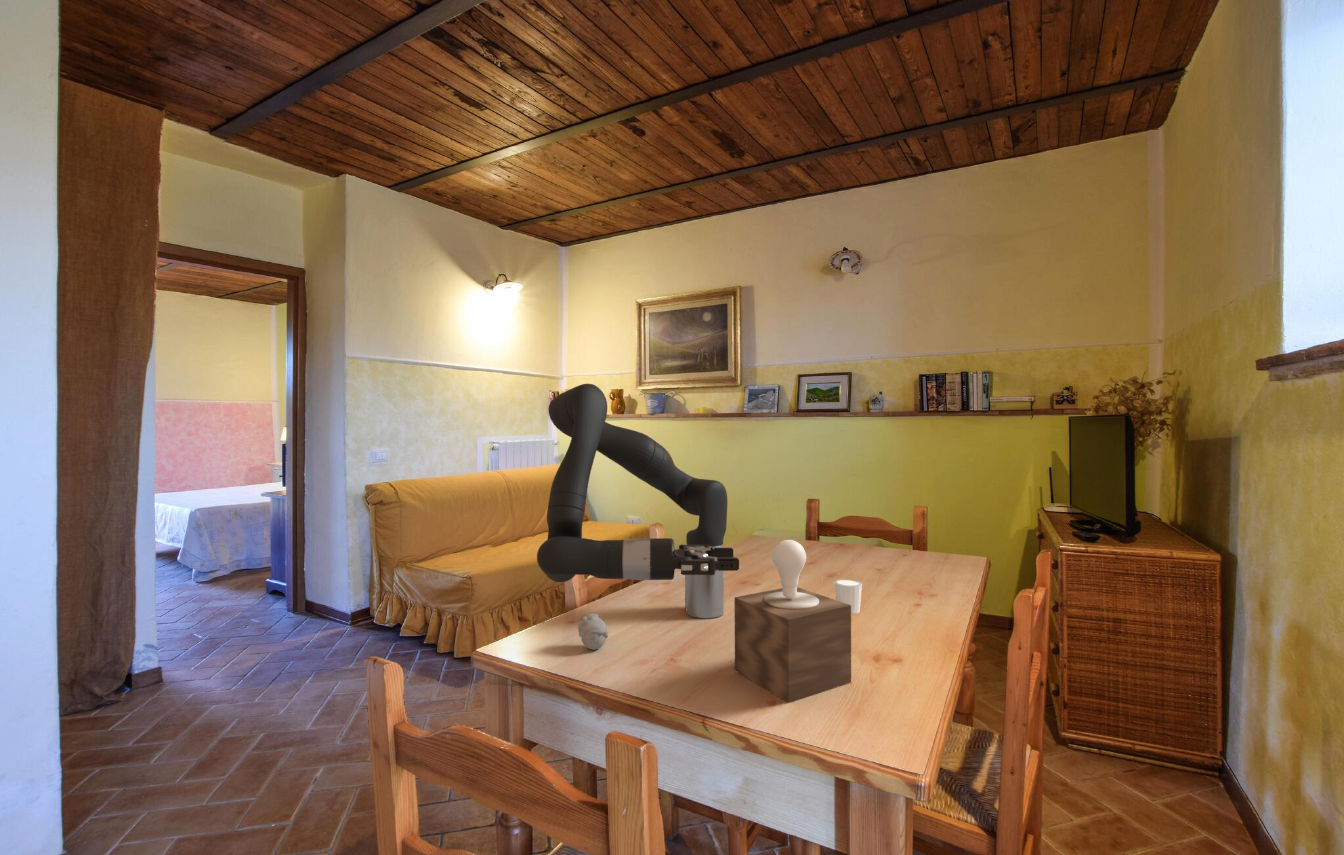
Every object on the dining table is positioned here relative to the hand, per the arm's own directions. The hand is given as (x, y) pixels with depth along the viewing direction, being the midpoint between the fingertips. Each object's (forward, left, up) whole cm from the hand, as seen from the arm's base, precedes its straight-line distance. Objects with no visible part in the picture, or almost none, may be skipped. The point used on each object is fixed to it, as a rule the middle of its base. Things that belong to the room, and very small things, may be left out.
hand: (735, 558), depth 109 cm
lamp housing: (+5, +9, -22) cm, 24 cm away
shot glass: (-17, +48, -22) cm, 55 cm away
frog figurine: (-27, -17, -22) cm, 39 cm away
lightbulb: (+5, +9, -8) cm, 13 cm away
